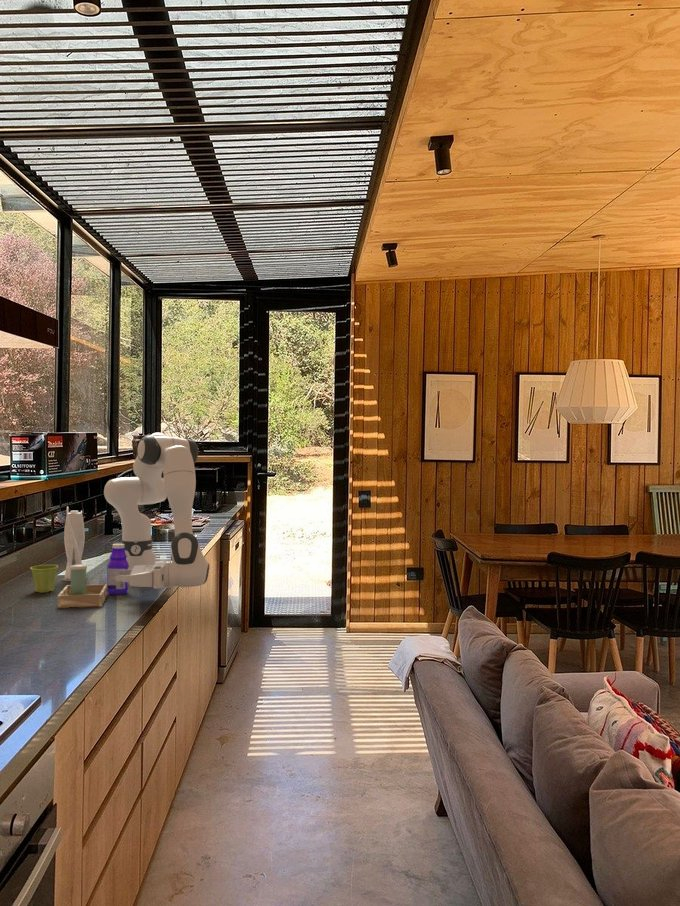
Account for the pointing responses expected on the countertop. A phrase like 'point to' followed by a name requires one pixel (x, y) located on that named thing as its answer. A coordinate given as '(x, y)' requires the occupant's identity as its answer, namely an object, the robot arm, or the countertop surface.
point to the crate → (83, 597)
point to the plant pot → (44, 577)
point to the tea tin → (78, 579)
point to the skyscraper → (73, 540)
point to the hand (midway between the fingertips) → (117, 575)
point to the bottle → (117, 570)
